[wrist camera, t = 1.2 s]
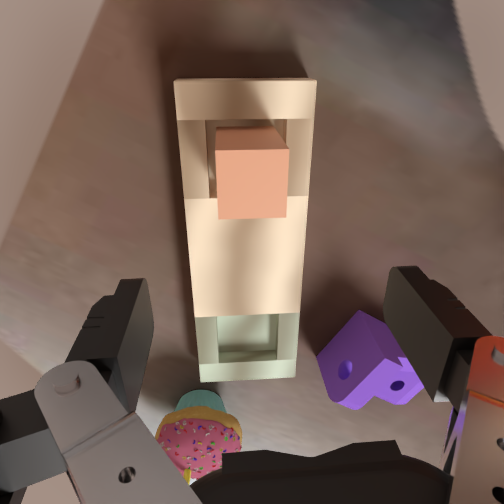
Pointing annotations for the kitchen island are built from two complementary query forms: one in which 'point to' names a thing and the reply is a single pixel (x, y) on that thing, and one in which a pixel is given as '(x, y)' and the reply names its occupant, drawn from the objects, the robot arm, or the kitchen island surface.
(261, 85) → the rail
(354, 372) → the bracket
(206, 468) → the cupcake
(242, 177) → the salmon orange rectangular block
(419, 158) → the kitchen island surface
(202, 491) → the robot arm
